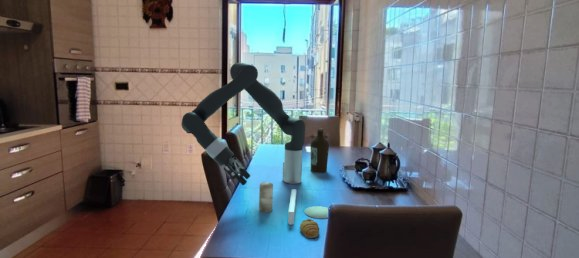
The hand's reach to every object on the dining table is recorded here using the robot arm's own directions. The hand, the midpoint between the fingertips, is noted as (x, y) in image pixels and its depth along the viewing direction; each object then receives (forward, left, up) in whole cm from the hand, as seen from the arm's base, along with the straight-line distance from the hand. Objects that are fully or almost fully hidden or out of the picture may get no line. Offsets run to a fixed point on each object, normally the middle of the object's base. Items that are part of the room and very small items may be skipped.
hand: (247, 180), depth 147 cm
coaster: (+21, +21, -12) cm, 32 cm away
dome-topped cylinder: (+6, +6, -12) cm, 15 cm away
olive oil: (-23, +67, -12) cm, 72 cm away
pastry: (+32, +5, -13) cm, 34 cm away
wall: (+13, +13, -12) cm, 23 cm away
